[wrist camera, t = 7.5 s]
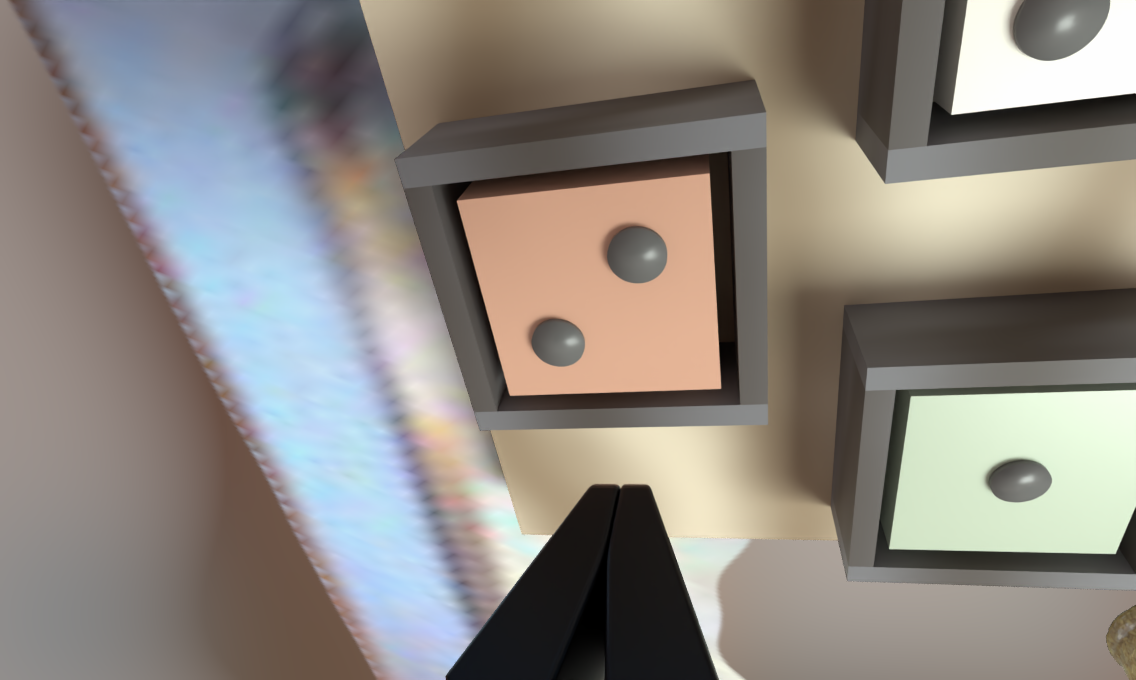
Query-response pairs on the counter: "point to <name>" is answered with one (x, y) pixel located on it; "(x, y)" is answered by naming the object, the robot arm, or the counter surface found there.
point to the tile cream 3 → (1034, 52)
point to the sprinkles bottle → (1124, 641)
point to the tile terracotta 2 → (599, 276)
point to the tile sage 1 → (1011, 468)
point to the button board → (780, 250)
